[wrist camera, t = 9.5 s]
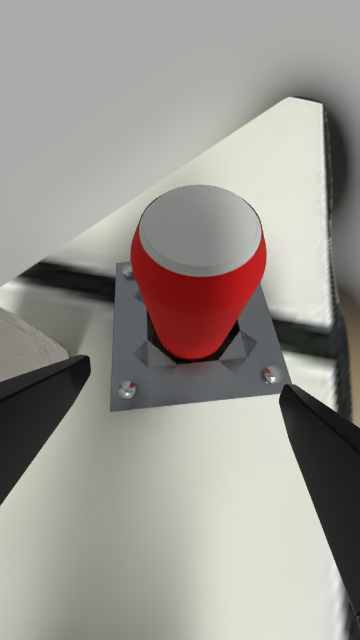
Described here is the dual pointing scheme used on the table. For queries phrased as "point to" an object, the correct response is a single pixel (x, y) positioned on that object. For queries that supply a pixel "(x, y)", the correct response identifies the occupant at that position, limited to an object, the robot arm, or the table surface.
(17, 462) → the robot arm
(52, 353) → the white cup
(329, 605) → the table surface
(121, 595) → the table surface
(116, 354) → the housing
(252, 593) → the table surface
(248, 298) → the beverage can
